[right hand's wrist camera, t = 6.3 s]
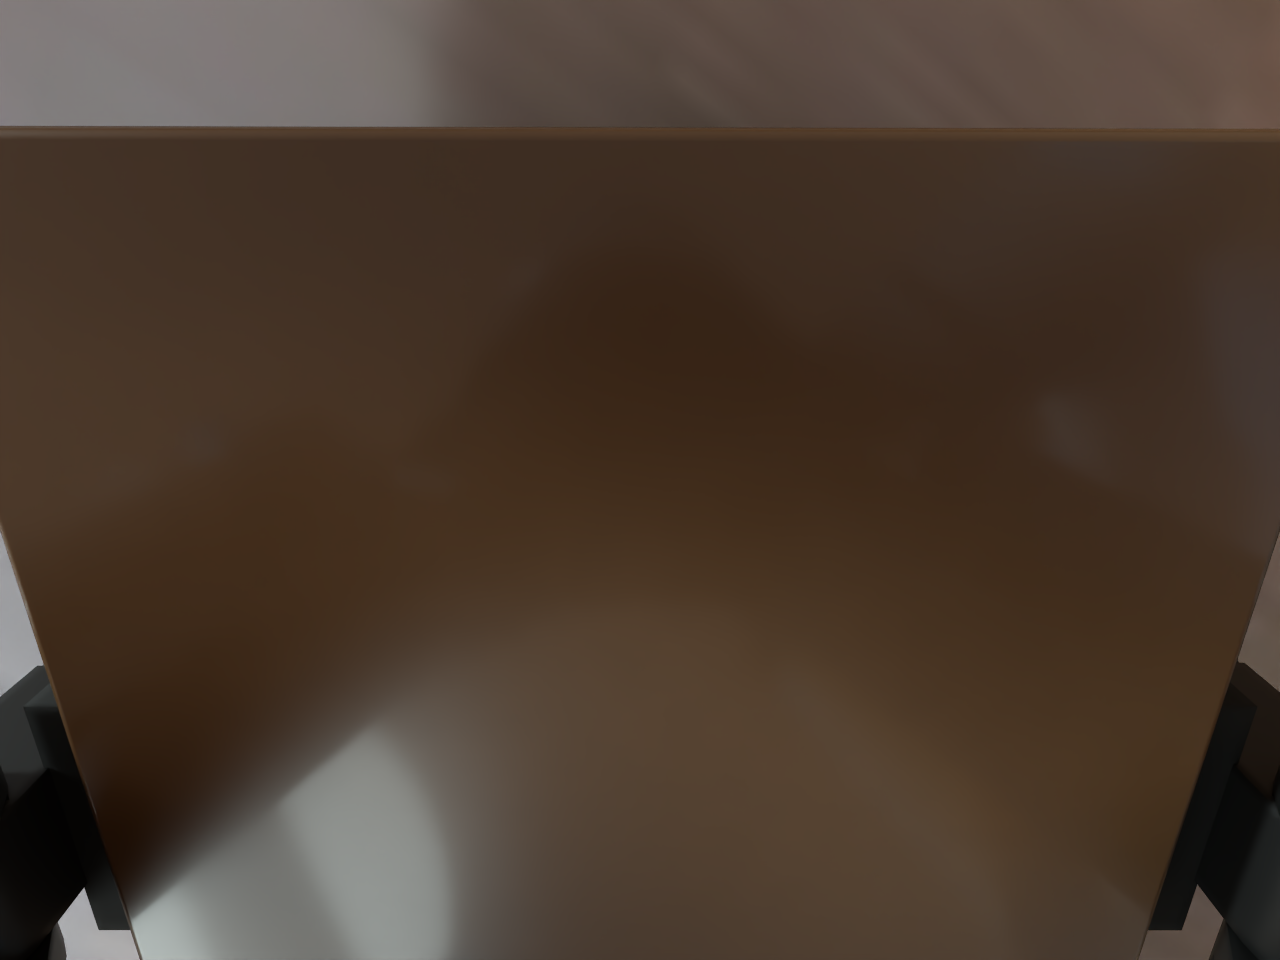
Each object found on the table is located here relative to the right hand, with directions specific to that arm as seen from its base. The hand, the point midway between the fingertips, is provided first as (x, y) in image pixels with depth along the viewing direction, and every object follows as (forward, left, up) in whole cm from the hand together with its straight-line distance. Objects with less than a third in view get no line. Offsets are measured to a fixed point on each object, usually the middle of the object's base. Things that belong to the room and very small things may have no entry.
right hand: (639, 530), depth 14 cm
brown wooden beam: (-12, +21, -1) cm, 24 cm away
